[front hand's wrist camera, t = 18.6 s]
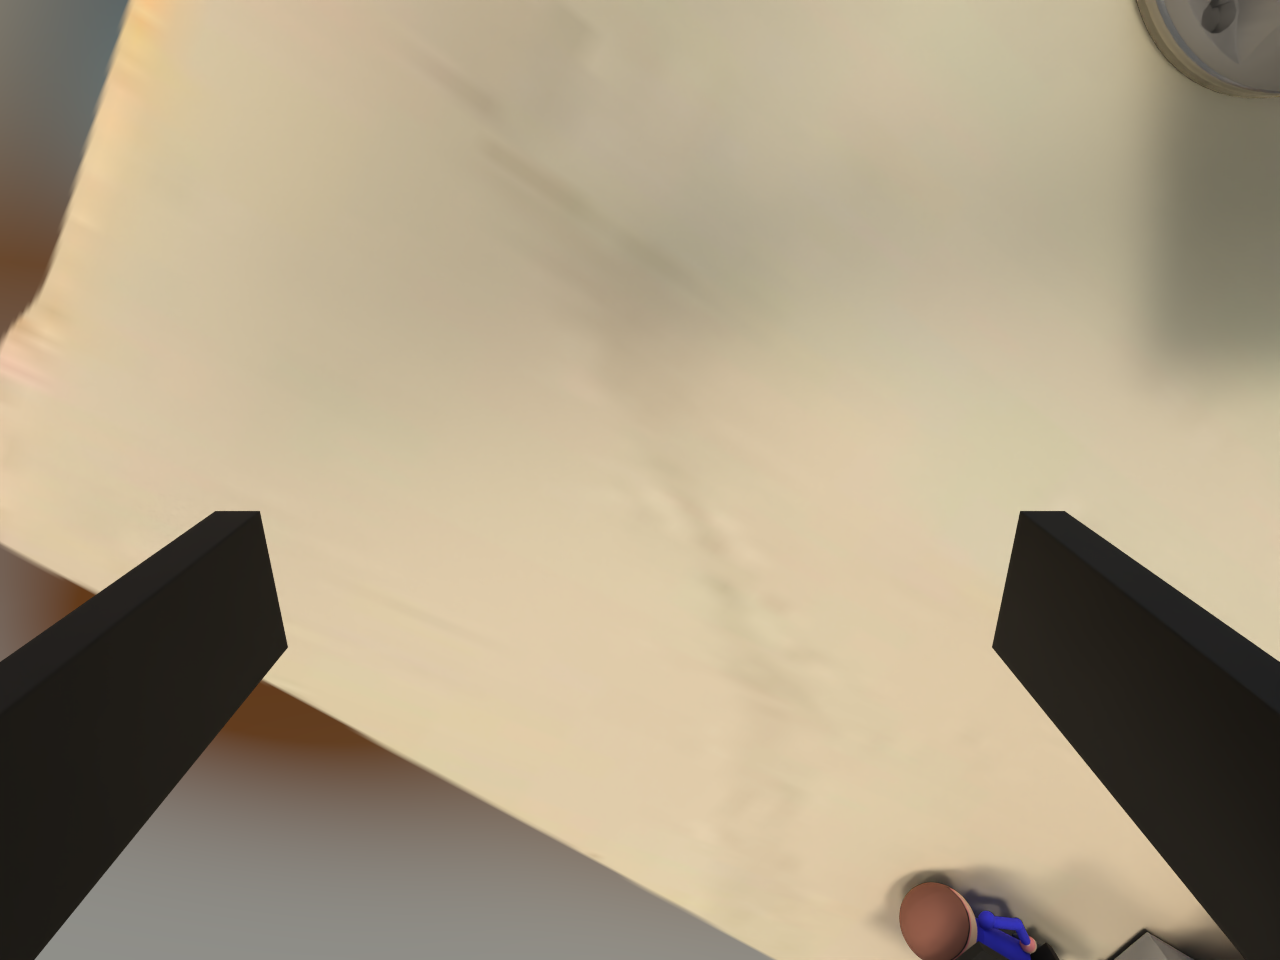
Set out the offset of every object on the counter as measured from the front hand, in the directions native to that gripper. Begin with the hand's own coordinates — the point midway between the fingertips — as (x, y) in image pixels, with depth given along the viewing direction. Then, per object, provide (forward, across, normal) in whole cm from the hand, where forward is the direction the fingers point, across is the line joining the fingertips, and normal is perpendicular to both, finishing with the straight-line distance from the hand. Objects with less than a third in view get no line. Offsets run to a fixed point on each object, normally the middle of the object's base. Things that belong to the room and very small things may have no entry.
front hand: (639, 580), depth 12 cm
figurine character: (+26, -25, +43) cm, 56 cm away
